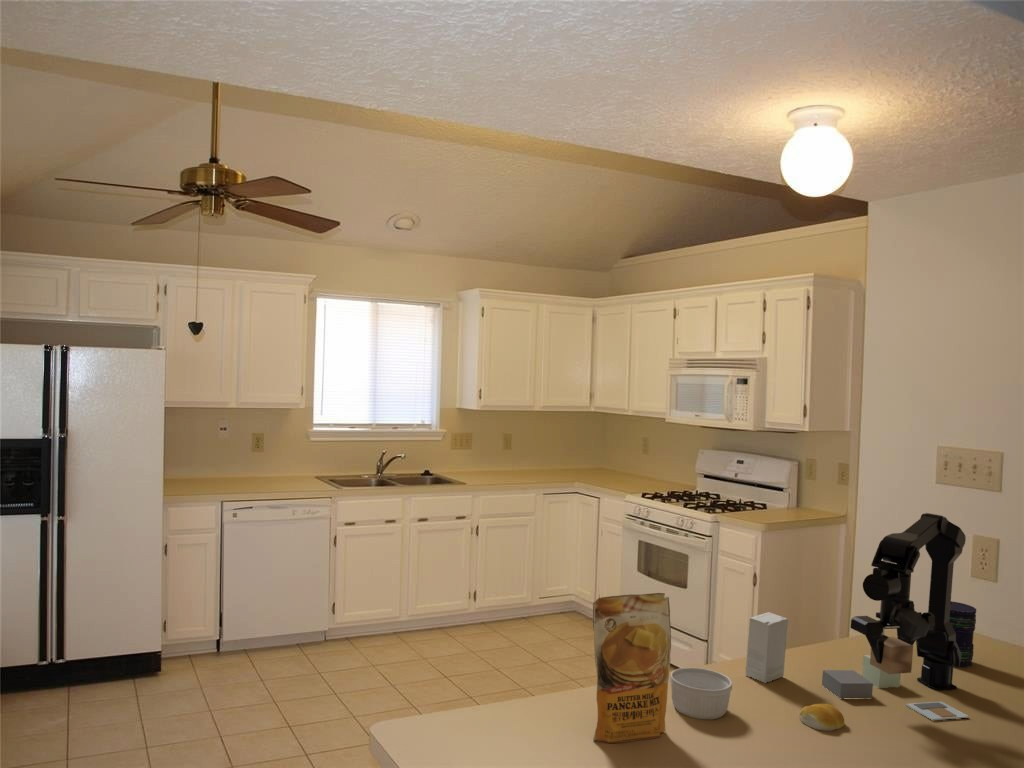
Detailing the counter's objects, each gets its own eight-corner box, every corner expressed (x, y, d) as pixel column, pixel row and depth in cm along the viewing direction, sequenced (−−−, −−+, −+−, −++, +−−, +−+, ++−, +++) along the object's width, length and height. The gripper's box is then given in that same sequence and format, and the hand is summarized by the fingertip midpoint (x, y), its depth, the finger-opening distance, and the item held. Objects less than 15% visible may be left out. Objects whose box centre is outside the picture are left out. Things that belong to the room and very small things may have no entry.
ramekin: (656, 707, 180) (658, 675, 180) (688, 692, 189) (690, 662, 189) (710, 728, 171) (713, 695, 170) (741, 711, 180) (743, 680, 180)
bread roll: (850, 727, 176) (852, 708, 176) (824, 735, 171) (826, 716, 171) (817, 711, 183) (819, 694, 183) (791, 719, 178) (792, 701, 178)
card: (941, 703, 192) (941, 700, 192) (968, 718, 184) (969, 715, 184) (905, 705, 189) (905, 702, 189) (932, 721, 181) (932, 718, 181)
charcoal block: (852, 686, 200) (853, 670, 200) (871, 700, 192) (872, 683, 192) (821, 686, 198) (822, 670, 198) (839, 700, 190) (841, 683, 190)
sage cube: (882, 677, 206) (883, 654, 206) (899, 687, 200) (901, 663, 200) (861, 679, 204) (863, 655, 204) (878, 688, 199) (880, 664, 199)
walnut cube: (891, 662, 189) (893, 636, 189) (911, 672, 183) (913, 646, 183) (869, 664, 187) (871, 637, 187) (889, 674, 181) (890, 647, 181)
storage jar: (980, 669, 217) (984, 613, 216) (942, 666, 217) (947, 610, 216) (960, 655, 227) (964, 601, 226) (924, 653, 227) (928, 599, 226)
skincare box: (763, 669, 207) (768, 611, 206) (785, 677, 202) (789, 617, 201) (743, 676, 201) (748, 616, 201) (765, 684, 197) (769, 623, 196)
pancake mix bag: (577, 731, 165) (586, 593, 164) (659, 722, 172) (668, 589, 171) (592, 747, 159) (601, 603, 158) (677, 736, 166) (686, 599, 165)
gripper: (887, 606, 174) (881, 678, 175) (957, 603, 180) (952, 673, 180) (851, 590, 185) (846, 659, 185) (918, 588, 190) (914, 655, 191)
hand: (890, 662), depth 185 cm, fingers closed on walnut cube, 6 cm apart
